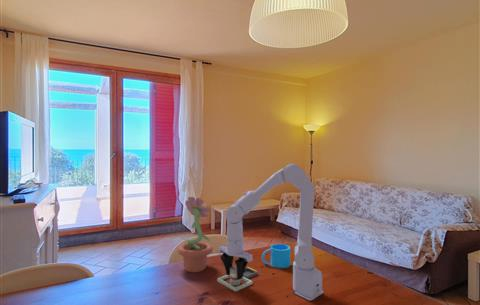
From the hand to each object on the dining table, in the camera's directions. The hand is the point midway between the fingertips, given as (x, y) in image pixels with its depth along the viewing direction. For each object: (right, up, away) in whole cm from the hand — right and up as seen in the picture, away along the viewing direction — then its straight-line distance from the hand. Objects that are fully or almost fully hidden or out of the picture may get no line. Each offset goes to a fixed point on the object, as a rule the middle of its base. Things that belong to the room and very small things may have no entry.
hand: (234, 276), depth 100 cm
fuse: (0, -3, 0) cm, 3 cm away
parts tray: (0, -3, 0) cm, 3 cm away
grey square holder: (+5, -3, +7) cm, 9 cm away
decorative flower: (-16, -3, +13) cm, 20 cm away
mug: (+17, -4, +17) cm, 24 cm away
